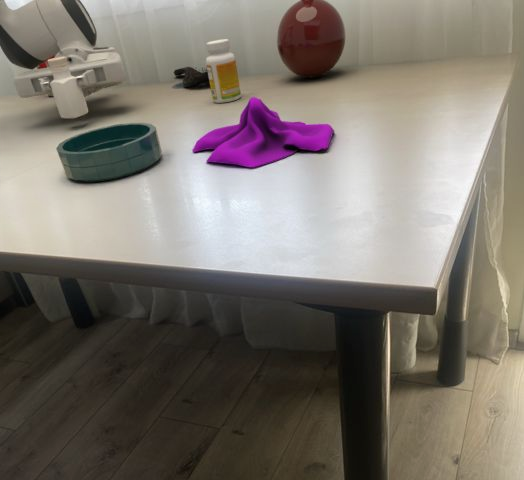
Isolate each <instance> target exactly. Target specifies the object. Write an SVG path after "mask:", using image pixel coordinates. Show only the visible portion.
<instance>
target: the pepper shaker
mask: <svg viewBox="0 0 524 480" xmlns="http://www.w3.org/2000/svg"><path fill="white" fill-rule="evenodd" d="M48 64H49V67H50V70H51V72H52V74H53V77H54V80H53V81H51V83H50V87H51V90H52V93H53V96H52V97H53V98H54V102H55V105H56V108H57V111H58V113H59V116H60V117H61V118H62V119H78V118H79V117H82V116H85V115H86V114H88V113H89V108H88V105H87V102H86V97H84V95H83V92H82V88H81V87H79V85H78V81H77V78H76V77H74V76H71V73H70V70H69V69H70V68H69V66H68V62H67V59H66V57H57V58H53V59H49V60H48Z"/></svg>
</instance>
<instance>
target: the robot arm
mask: <svg viewBox="0 0 524 480" xmlns="http://www.w3.org/2000/svg"><path fill="white" fill-rule="evenodd" d="M97 32H98V31H97V29H96V27H95V24H94V21H93V19H92V18H91V15H90V13H89V12H88V10H87V8H86V7H85V5H84V3H82V1H81V0H31V1H29V2H27V3H25V4H24V5H21V6H20V7H18V8H15V9H12V8H10V7H9V6H8V5H7V3H6V0H0V50H1V51H2V53H3V54H4V55H5V57H6V59H7V60H8V62H10V63H11V64H12V65H15V66H17V67H19V68H23V69H27V70H28V71H25V72H22V73H19V74H17V75H15V76H14V77H13V81H12V82H13V84H14V86H15V90H16V93H17V94H18V96H19V97H20V98H23V99H25V98H26V99H27V98H33V97H40V96H45V95H48V94H51V93H52V90H51V87H50V83H51V81H53V80H54V77H53V74H52V72H51V70H50V67H48V68H42V69H37V66H39V65H40V64H42V63H43V62H45V61H46V60H47V59H49V58H51V57H52V56H54V55H56V56H55V58H57V57H66V59H67V62H68V66H69V68H70V69H69V70H70V73H71V76H74V77H76V78H77V81H78V85H79V87H81V88H82V92H83V95H84V98H86V97H89V96H90V95H92V94H94V93H97V92H99V91H101V90H102V89H103V90H104V89H107V88H110V87H115V86H118V85H122V84H123V83H124V82H125V81H126V80H127V75H126V72H125V67H124V64H123V60H122V57H121V54H119V52H117V50H116V47H115V46H114V47H113V46H110V47H109V46H104V47H101V46H99V45H98V44H97V39H98V36H97Z"/></svg>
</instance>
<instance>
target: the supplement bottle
mask: <svg viewBox="0 0 524 480" xmlns="http://www.w3.org/2000/svg"><path fill="white" fill-rule="evenodd" d="M229 40H230V39H228V38H223V39H216V40H212V41H208V42H206V49H207V52H208V54H209V55H208V56H207V57H206V59H205V65H206V67H207V68H206V70H207V71H208V76H209V82H208V83H209V88H210V92H211V97H212V101H213V102H214V103H215V104H224V103H230V102H234V101H237V100H239V99H240V98H241V97H242V94H241V87H240V81H239V74H238V66H237V60H236V56H235V54H234V53H232V52H230V48H231V47H230V41H229ZM207 71H206V72H207Z"/></svg>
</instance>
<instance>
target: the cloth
mask: <svg viewBox="0 0 524 480" xmlns="http://www.w3.org/2000/svg"><path fill="white" fill-rule="evenodd" d="M334 133H335V130H334V128H333V126H332V125H330V124H328V123H313V124H311V123H310V124H306V122H303V121H285V120H282V119H281V118H280V115H279V113H278V112H276V111H275V110H272V109H270V108H269V107H268V106H267V105H266V104H265V103H264V102H263V101H262V99H261V98H258V97H255V96H252V97H249V100H248V102H247V104H246V105H245V107H244V109H243V110H242V111H241V114H240V117H239V123H237V124H232V125H227V126H223V127H218V128H214V129H212V130H210V131H208V132H207V133H206V134H204V135H203V136H201V137H200V138H199V139H198V140H196V142H195V144H194V146H193V149H192V153H197V152H200V151H205V150H213V151H212V152H211V154H210V155H209V156H208V158H207V159H206V161H205V162H206V163H218V164H229V165H237V166H241V167H242V166H243V167H246V168H257V167H261V166H264V165H267V164H270V163H274V162H277V161H280V160H283V159H285V158H288V157H290V156H292V155H294V154H296V152H298V151H299V150H308V151H312V152H317V151H320V150H328V148H329V144H330V143H331V139H332V136H333V134H334Z"/></svg>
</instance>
